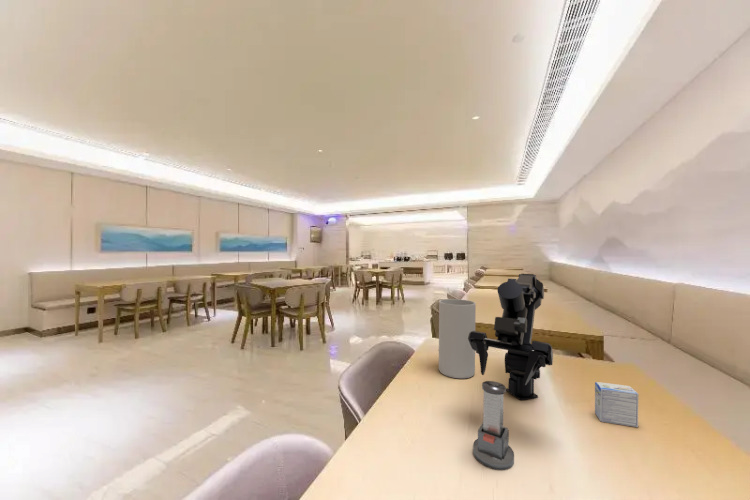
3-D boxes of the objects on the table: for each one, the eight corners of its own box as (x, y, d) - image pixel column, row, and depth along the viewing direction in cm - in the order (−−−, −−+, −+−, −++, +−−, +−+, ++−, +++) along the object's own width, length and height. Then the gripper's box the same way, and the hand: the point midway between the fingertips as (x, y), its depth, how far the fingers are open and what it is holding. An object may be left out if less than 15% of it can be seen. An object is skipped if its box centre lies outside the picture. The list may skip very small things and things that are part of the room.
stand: (479, 439, 69) (479, 414, 69) (517, 453, 64) (517, 426, 64) (467, 458, 62) (468, 431, 62) (509, 476, 57) (509, 446, 58)
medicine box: (630, 419, 78) (630, 385, 78) (638, 428, 74) (639, 393, 74) (594, 413, 80) (594, 381, 81) (600, 422, 76) (600, 388, 76)
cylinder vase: (469, 382, 98) (470, 306, 99) (433, 374, 105) (434, 302, 105) (478, 370, 109) (479, 301, 109) (445, 363, 116) (445, 298, 116)
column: (485, 438, 66) (485, 379, 66) (507, 446, 64) (507, 384, 64) (478, 449, 63) (479, 386, 63) (502, 458, 60) (502, 392, 60)
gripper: (470, 300, 79) (454, 352, 70) (552, 308, 68) (545, 372, 59) (479, 324, 86) (465, 375, 77) (555, 335, 75) (549, 396, 66)
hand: (502, 379), depth 69 cm, fingers open, 9 cm apart
